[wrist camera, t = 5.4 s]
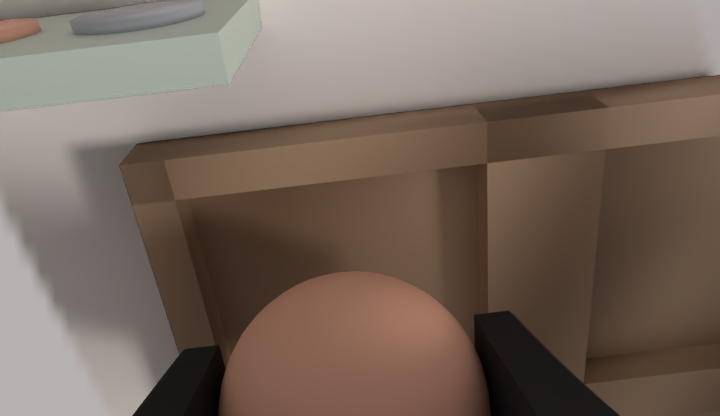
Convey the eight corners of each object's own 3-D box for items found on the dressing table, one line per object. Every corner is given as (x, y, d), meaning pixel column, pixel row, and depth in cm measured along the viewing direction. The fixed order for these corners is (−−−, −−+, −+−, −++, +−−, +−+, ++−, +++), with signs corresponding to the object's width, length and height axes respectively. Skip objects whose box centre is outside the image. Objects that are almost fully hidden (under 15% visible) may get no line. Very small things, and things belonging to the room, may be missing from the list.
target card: (253, -18, 10) (215, 18, 6) (261, 27, 10) (229, 84, 7) (-43, 17, 10) (-244, 72, 6) (-25, 60, 10) (-207, 136, 7)
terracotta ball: (452, 210, 11) (535, 382, 7) (459, 389, 13) (526, 602, 9) (213, 241, 10) (154, 434, 7) (258, 416, 12) (233, 644, 9)
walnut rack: (920, 51, 11) (976, 63, 10) (762, 526, 18) (787, 561, 17) (137, 143, 11) (119, 165, 10) (268, 584, 18) (265, 624, 17)
